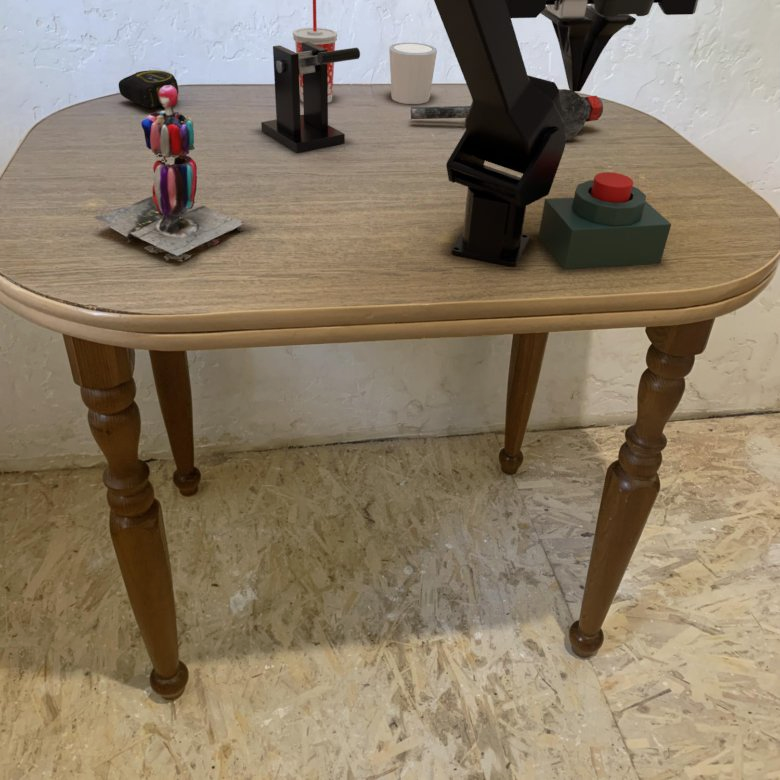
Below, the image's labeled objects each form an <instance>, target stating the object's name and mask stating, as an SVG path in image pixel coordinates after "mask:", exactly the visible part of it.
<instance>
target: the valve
mask: <svg viewBox="0 0 780 780" xmlns="http://www.w3.org/2000/svg"><path fill="white" fill-rule="evenodd" d="M559 93H560V102H561V106H562V109H563V110H564V111H565V112H566V116H565V117H564V118H562V120H563V123H564V128H565V135H566V141H568V140H570V139H573V138H574V137H576V136H577V135H578V134H579V133H580V132H581V131H582V129H583V128H584V126H585V124H586V122H587V123H588V122H595V121H599V119H600V118H601V116H602V115H603V112H604V104H603V101H602V99H601V98H600V97H598V96H597V95H590V96H581V95H580V94H578V92H572V91H571V90H570V89H566V88H561V89H559ZM470 106H471V105H455V106H453V105H450V106H445V105H444V106H410V120H438V119H443V120H444V119H466V116H467V114H468V111H469V109H470Z"/></svg>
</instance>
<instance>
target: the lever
mask: <svg viewBox="0 0 780 780" xmlns="http://www.w3.org/2000/svg"><path fill="white" fill-rule="evenodd" d="M360 57H361V52H360V49H359V47H350V48H343V49H335V51H328V52H321V53H318V55H316V56H313V54H312V51H306V52H299V53H298V58H299V75H301V74H307V73H313V72H316V71H315V65H321V64H327V63H334V64H335V63H339V62H346V61H352V60H354V61H355V60H359V59H360Z"/></svg>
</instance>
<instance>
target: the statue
mask: <svg viewBox="0 0 780 780" xmlns="http://www.w3.org/2000/svg"><path fill="white" fill-rule="evenodd" d="M159 98H160V101H161V104H162V105H161V106H162V107H163V108H164V110H161V111H160V112H156V111H154V112H152V113H150V114H149V115H147V117H145V119H143V120H142V121H141V125H140V126H141V128H142V130H143V135H144V140H145V145H146V148H147V149H148V150H150V151H151V152H152V153H153V154H154V155H155V156H156V158H161V160H158V159H157V160H156V161H155V162H154V164H153V168H152V171H153V173H154V174H153V177H154V178H153V185H152V195H151V196H149V197H147V198H144V199H142V200H140V201H137V202H134V203H132V204H129V205H125V206H121V207H118V208H116V209H114V210H111V211H108V212H106V213H101V214H98V215H95V216H93V219H95V220H98V221H99V222H101V223H103V224H104V225H106V226H107V227H109V228H111V229H112V230H114V231H116V232H117V233H119V234H120V235H122V236H124V237H126V238H127V241H126V243H130V242H132V241H133V240H137V238H138V239H140V240H141V241H144V242H147V243H148V244H151V245H148V246H145V247H143V249H144V250H147V251H148V252H149V253H153V254H158V253H165V255H164V256H163V258H164V259H165V261H170V260H176V261H178V262H183V261H185V260H188V259H189V258H191V256H192V254H187V253H186V252H189V251H191V250H195V248H196V247H201V248H202V247H204V244H205V243H206V245H207V246H216V245H217V244H218V243H220V242H221V239H220V238H218V237H220V236H223V235H224V234H226V233H229V232H232V231H234V230H235V229H236V231H239V232H244V231H246V227H243V226H242V225H244V224H246V222H245V221H243V220H240V219H238V218H235V217H232V216H229V215H226V214H223V213H221V212H218V211H217V210H215V209H213V208H210V207H208V206H205V205H204V204H202V203H200V202H199V201H195V198H196V194H197V183H198V174H197V173H198V172H197V171H198V170H197V169H198V168H197V163H196V162H195V160H194V159H193V158H192V156H190V155H189V154H190V151H193V150H196V148H195V147H194V146H195V131H194V121H193V120H192V119H193V118H191V117H185V115H184V114H182V113H180V112H179V111H174V108H175V107H176V105H177V103H178V98H179V94H178V95H177V90H176V89H175V87H174V86H172V85H167V86H163V87H162V88H161V89H160V90H159ZM168 158H173V159H174V160H173V164H170V163H167V162H168ZM183 259H184V260H183Z"/></svg>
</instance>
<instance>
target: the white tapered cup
mask: <svg viewBox="0 0 780 780" xmlns="http://www.w3.org/2000/svg"><path fill="white" fill-rule="evenodd" d="M388 50H389V71H390V73H389V74H390V88H391V89H390V93H391V94H390V95H391V100H393V101H394V102H397V103H400V104H405V105H420V104H426V103H427V102H429V101H430V99H431V92H432V85H433V79H434V72H435V67H436V60H437V53H438V48H437V47H435V46H434V45H430V44H426V43H419V42H398V43H394V44H391V45H389V46H388Z"/></svg>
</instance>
